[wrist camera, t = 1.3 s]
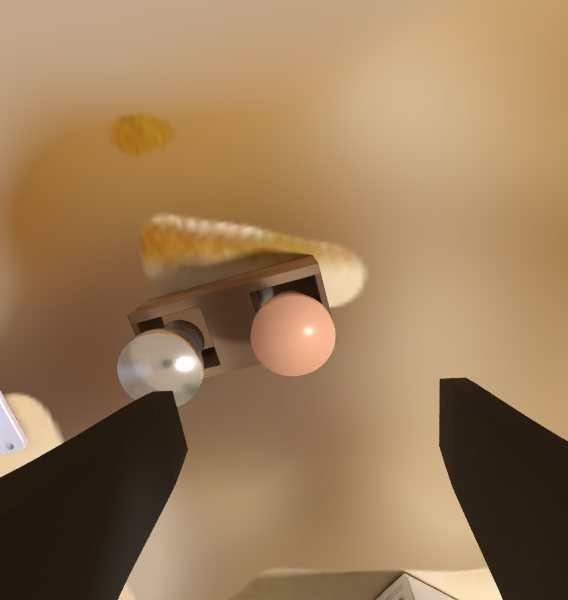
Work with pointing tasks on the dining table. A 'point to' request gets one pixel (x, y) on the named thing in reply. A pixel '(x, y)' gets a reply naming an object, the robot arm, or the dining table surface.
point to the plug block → (228, 311)
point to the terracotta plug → (292, 334)
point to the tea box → (411, 591)
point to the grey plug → (164, 362)
